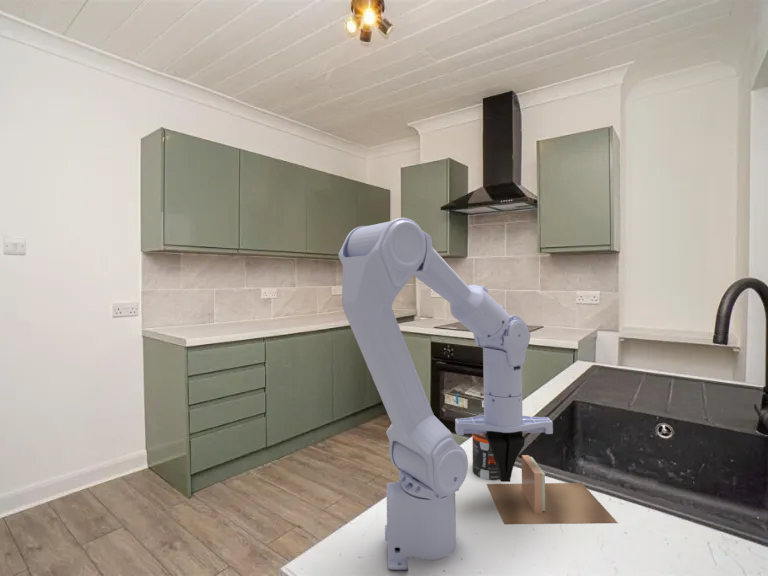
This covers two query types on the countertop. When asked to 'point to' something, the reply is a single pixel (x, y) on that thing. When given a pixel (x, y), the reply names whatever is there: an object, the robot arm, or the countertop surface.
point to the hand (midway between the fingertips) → (503, 478)
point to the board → (549, 505)
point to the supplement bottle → (483, 458)
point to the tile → (533, 484)
